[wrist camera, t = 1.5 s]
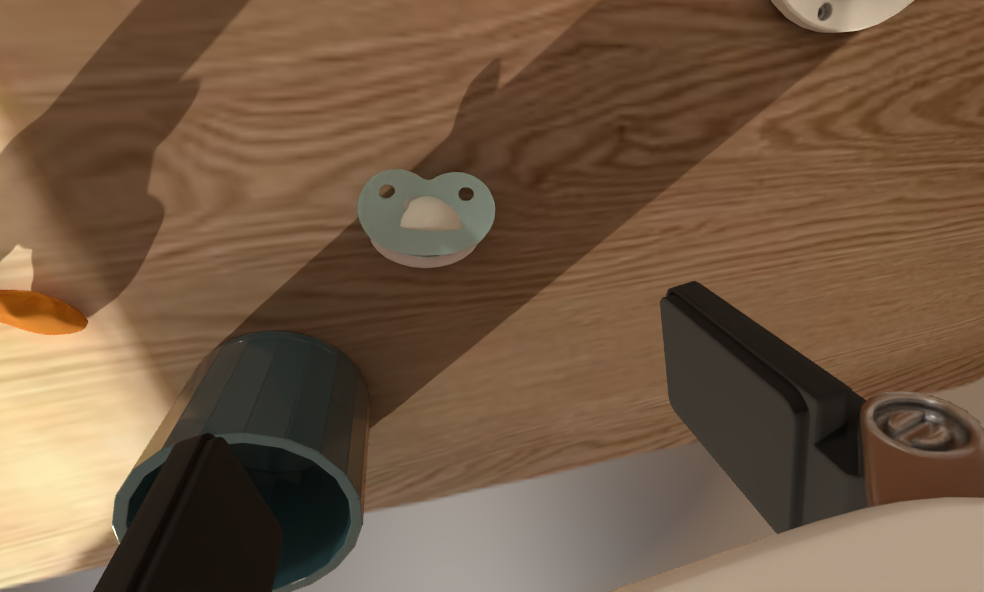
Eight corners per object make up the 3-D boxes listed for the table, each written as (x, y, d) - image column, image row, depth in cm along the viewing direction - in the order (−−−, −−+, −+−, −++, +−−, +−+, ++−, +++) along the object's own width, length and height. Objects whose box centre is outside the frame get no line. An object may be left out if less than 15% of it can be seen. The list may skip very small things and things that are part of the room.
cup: (328, 306, 31) (303, 401, 22) (393, 438, 36) (394, 555, 27) (150, 365, 30) (56, 485, 22) (242, 490, 35) (195, 626, 27)
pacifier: (482, 263, 31) (490, 167, 29) (502, 311, 26) (513, 198, 23) (362, 263, 30) (358, 162, 27) (356, 313, 24) (350, 193, 22)
